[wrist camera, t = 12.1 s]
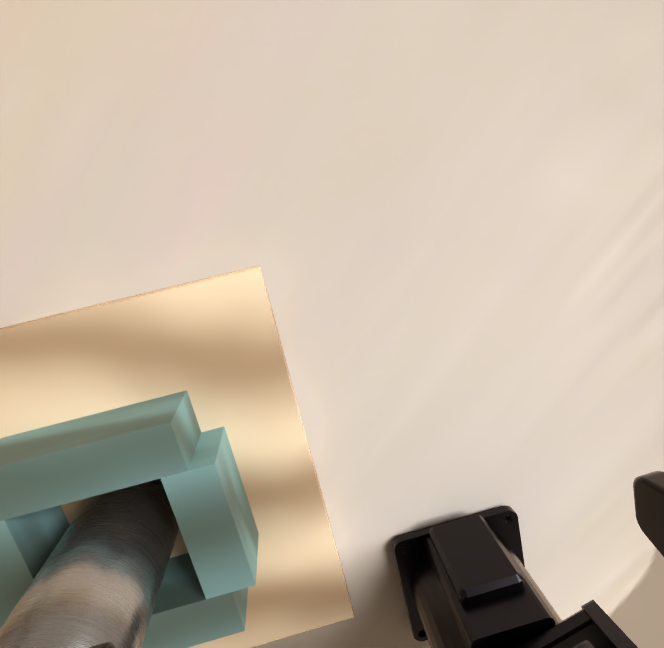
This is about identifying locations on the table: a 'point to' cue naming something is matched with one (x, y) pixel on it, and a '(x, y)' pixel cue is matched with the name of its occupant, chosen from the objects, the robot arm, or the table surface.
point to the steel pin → (99, 575)
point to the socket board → (224, 393)
